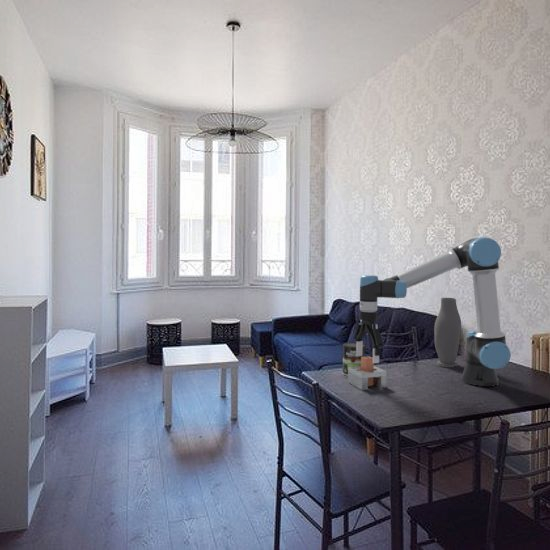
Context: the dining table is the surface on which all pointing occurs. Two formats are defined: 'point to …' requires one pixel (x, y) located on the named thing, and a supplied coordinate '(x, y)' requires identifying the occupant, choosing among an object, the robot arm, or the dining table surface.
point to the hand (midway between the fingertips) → (367, 359)
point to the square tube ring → (366, 377)
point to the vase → (447, 333)
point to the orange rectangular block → (367, 367)
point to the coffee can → (351, 356)
